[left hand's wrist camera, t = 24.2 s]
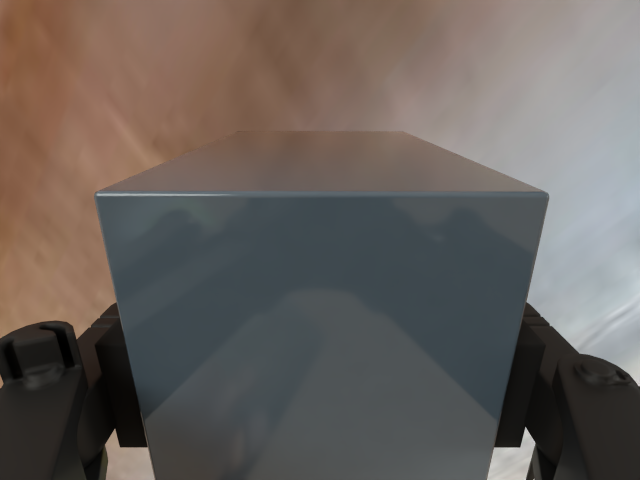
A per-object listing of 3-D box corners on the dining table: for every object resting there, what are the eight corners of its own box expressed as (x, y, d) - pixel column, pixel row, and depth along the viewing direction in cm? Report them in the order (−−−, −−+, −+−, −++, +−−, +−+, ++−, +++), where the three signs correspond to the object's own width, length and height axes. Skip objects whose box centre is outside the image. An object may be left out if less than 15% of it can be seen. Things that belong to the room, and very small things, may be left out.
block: (249, 312, 20) (170, 559, 9) (236, 131, 16) (90, 191, 6) (390, 313, 20) (471, 559, 9) (405, 131, 16) (553, 192, 6)
